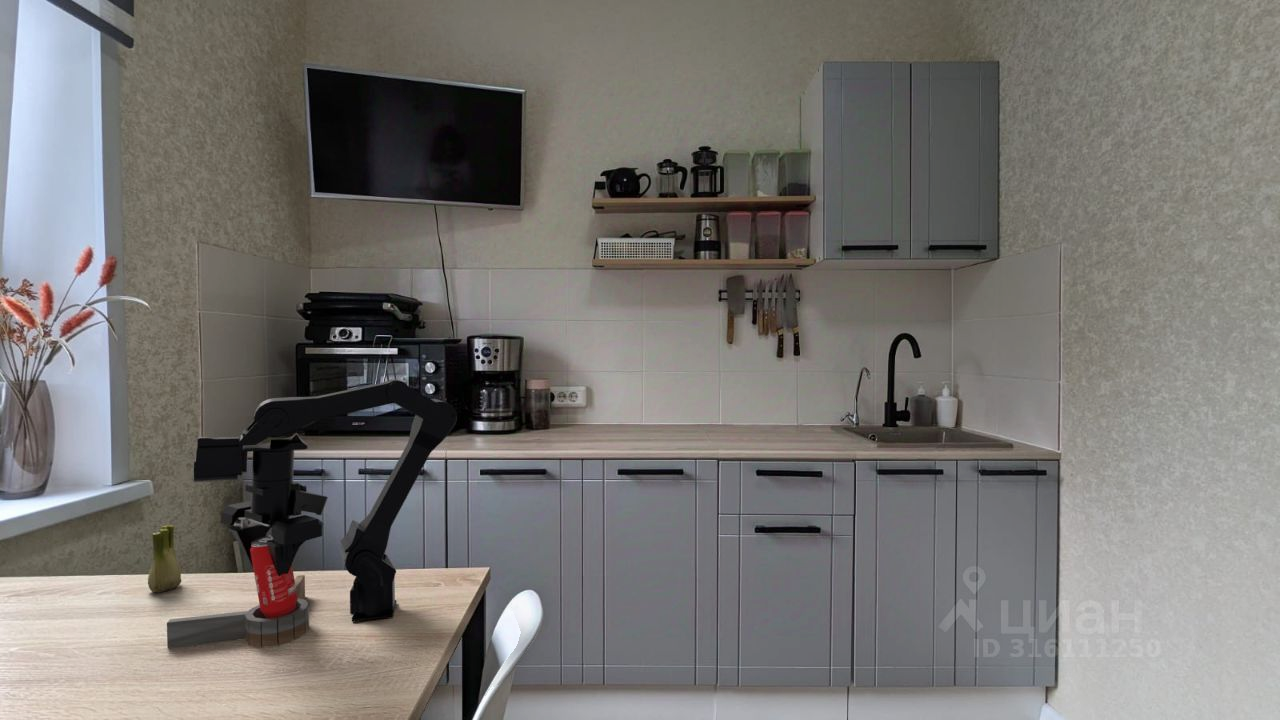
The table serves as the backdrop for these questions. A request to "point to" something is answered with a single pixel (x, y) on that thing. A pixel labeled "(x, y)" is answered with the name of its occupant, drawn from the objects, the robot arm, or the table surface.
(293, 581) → the beverage can
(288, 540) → the robot arm
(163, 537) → the fennel bulb
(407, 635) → the table surface
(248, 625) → the grey ring bracket
